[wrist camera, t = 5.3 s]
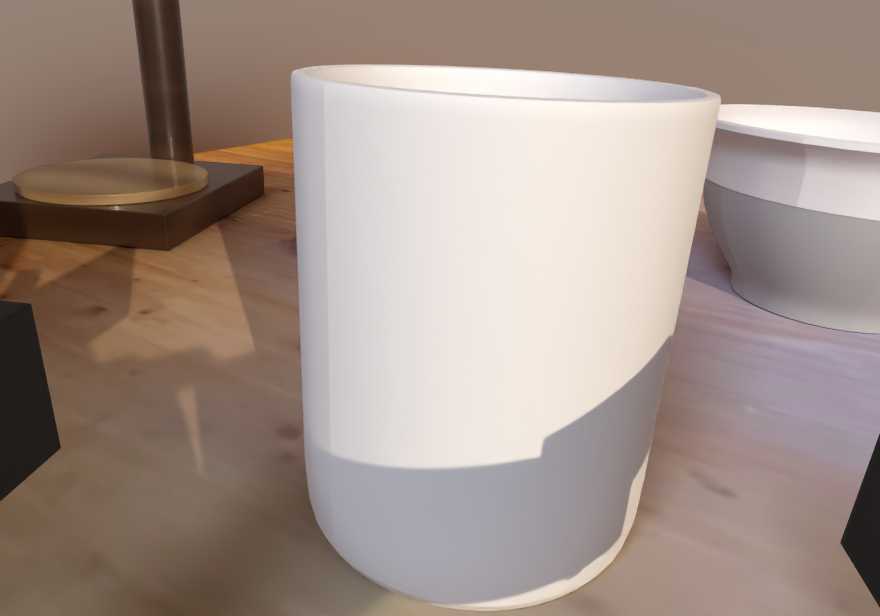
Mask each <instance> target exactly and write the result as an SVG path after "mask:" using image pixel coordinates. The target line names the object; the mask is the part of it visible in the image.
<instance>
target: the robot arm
mask: <svg viewBox="0 0 880 616" xmlns="http://www.w3.org/2000/svg"><path fill="white" fill-rule="evenodd" d="M60 448H61V446H60V442H59V437H58V432H57V427H56V422H55V417H54V413H53V408H52V403H51V398H50V393H49V388H48V384H47V379H46V374H45V369H44V364H43V359H42V355H41V350H40V345H39V340H38V335H37V330H36V326H35V321H34V316H33V311H32V306H31V304H27V303H17V302H7V301H0V501H1V500H2V499H3V498H4V497H6V496H7V495H8V494H9V493H10V492H11V491H12V490H13V489H15V488H16V487H17V486H18V485H19V484H20V483H21V482H23V481H24V480H25V479H26V478H27V477H28V476H29V475H31V474H32V473H33V472H34V471H35V470H36V469H37V468H38V467H40V466H41V465H42V464H43V463H44V462H45V461H46V460H48V459H49V458H50V457H51V456H52V455H53V454H54V453H56V452H57V451H58V450H59V449H60ZM841 544H842V546H843V548H844V549H845V551H846V553H847V554H848V556H849V558H850V559H851V561H852V563H853V564H854V566H855V568H856V569H857V571H858V572H859V574H860V576H861V577H862V579H863V581H864V582H865V584H866V586H867V587H868V589H869V591H870V592H871V594H872V595H873V597H874V599H875V600H876V602H877V604H878V605H879V607H880V434H879V437H878V440H877V443H876V446H875V448H874V451H873V454H872V457H871V459H870V462H869V465H868V468H867V470H866V473H865V476H864V479H863V482H862V484H861V487H860V490H859V493H858V495H857V498H856V501H855V504H854V507H853V509H852V512H851V515H850V518H849V520H848V523H847V526H846V529H845V531H844V534H843V537H842V540H841Z"/></svg>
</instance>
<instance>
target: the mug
mask: <svg viewBox="0 0 880 616" xmlns="http://www.w3.org/2000/svg"><path fill="white" fill-rule="evenodd" d="M291 100H292V126H293V154H294V181H295V208H296V235H297V262H298V289H299V316H300V343H301V370H302V397H303V424H304V451H305V467H306V476H307V485H308V493H309V498H310V502H311V505H312V509H313V512H314V515H315V518H316V521H317V523H318V525H319V527H320V528H321V530H322V532H323V534H324V536H325V537H326V538H327V540H328V541H329V542H330V543H331V545H332V546H333V547H334V548H335V550H336V551H337V552H338V553H339V555H340V556H341V557H342V558H343V559H344V560H345V561H346V562H347V563H349V564H350V565H351V566H352V567H353V568H354V569H355V570H356V571H358V572H359V573H361V574H362V575H364V576H365V577H367V578H368V579H370V580H371V581H373V582H374V583H376V584H378V585H380V586H382V587H384V588H386V589H388V590H390V591H392V592H394V593H397V594H399V595H402V596H405V597H407V598H410V599H413V600H415V601H419V602H423V603H427V604H431V605H435V606H439V607H446V608H453V609H460V610H475V611H496V610H512V609H518V608H523V607H529V606H534V605H538V604H541V603H544V602H548V601H551V600H554V599H557V598H559V597H561V596H564V595H566V594H568V593H570V592H572V591H575V590H576V589H578V588H579V587H581V586H583V585H584V584H586V583H587V582H589V581H590V580H592V579H593V578H594V577H595V576H597V575H598V574H599V573H600V572H601V571H602V570H603V569H604V568H605V567H607V566H608V565H609V564H610V563H611V562H612V560H613V559H614V558H615V556H616V555H617V554H618V552H619V551H620V550H621V548H622V546H623V544H624V542H625V540H626V538H627V535H628V533H629V531H630V529H631V527H632V525H633V522H634V519H635V515H636V512H637V508H638V504H639V499H640V495H641V491H642V486H643V482H644V477H645V472H646V467H647V462H648V457H649V453H650V448H651V443H652V438H653V433H654V428H655V423H656V418H657V413H658V408H659V403H660V398H661V394H662V389H663V384H664V379H665V374H666V369H667V364H668V359H669V354H670V349H671V344H672V340H673V335H674V330H675V325H676V320H677V315H678V310H679V305H680V300H681V295H682V290H683V285H684V281H685V276H686V271H687V266H688V261H689V256H690V251H691V246H692V241H693V236H694V231H695V227H696V222H697V217H698V212H699V207H700V202H701V197H702V192H703V187H704V182H705V177H706V173H707V168H708V163H709V158H710V153H711V148H712V143H713V138H714V133H715V128H716V123H717V118H718V114H719V109H720V103H721V99H720V96H719V95H718V94H716V93H713V92H710V91H707V90H703V89H699V88H695V87H689V86H684V85H677V84H670V83H663V82H655V81H647V80H638V79H629V78H619V77H609V76H598V75H586V74H574V73H561V72H547V71H533V70H532V71H531V70H517V69H516V70H515V69H499V68H480V67H479V68H478V67H458V66H429V65H372V64H371V65H370V64H369V65H368V64H365V65H326V66H314V67H306V68H302V69H298V70H295V71H293V73H292V75H291Z"/></svg>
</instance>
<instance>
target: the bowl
mask: <svg viewBox="0 0 880 616" xmlns="http://www.w3.org/2000/svg"><path fill="white" fill-rule="evenodd" d="M703 191H704V205H705V208H706V211H707V215H708V218H709V221H710V225H711V228H712V231H713V234H714V236H715V238H716V240H717V242H718V244H719V246H720V248H721V250H722V252H723V254H724V256H725V258H726V260H727V262H728V264H729V266H730V268H731V272H732V275H731V280H730V282H731V287H732V288H733V289H734V291H735V292H736V293H737V294H739V295H740V296H741V297H742V298H744V299H746V300H747V301H749V302H751V303H753V304H754V305H756V306H759V307H761V308H763V309H765V310H768V311H770V312H773V313H776V314H778V315H781V316H784V317H787V318H790V319H794V320H797V321H801V322H804V323H808V324H813V325H817V326H821V327H826V328H832V329H838V330H844V331H851V332H861V333H879V334H880V113H877V112H866V111H856V110H842V109H829V108H815V107H814V108H813V107H799V106H778V105H776V106H775V105H746V104H744V105H743V104H740V105H738V104H737V105H733V104H729V105H720V109H719V114H718V118H717V123H716V128H715V133H714V138H713V143H712V148H711V153H710V158H709V163H708V168H707V173H706V177H705V182H704V187H703Z"/></svg>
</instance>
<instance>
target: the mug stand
mask: <svg viewBox="0 0 880 616" xmlns="http://www.w3.org/2000/svg"><path fill="white" fill-rule="evenodd" d="M132 3H133V11H134V20H135V28H136V37H137V45H138V54H139V62H140V69H141V78H142V86H143V94H144V104H145V112H146V120H147V129H148V136H149V145H150V154H151V157H138V156H124V155H111V154H104V155H101V156H97V157H94V158H90V159H87V160H79V161H70V162H63V163H56V164H50V165H45V166H40V167H36V168H33V169H29V170H26V171H24V172H21V173H19V174H18V175H16V176H15V177H14V178H13V181H10V182H6V183H3V184H0V236H11V237H22V238H33V239H45V240H56V241H67V242H79V243H90V244H101V245H113V246H124V247H135V248H147V249H158V250H170V249H172V248H174V247H175V246H177V245H179V244H180V243H182V242H184V241H185V240H187V239H189V238H190V237H192V236H194V235H195V234H197V233H199V232H200V231H202V230H204V229H205V228H207V227H209V226H210V225H212V224H214V223H215V222H217V221H219V220H220V219H222V218H224V217H225V216H227V215H229V214H230V213H232V212H234V211H235V210H237V209H238V208H240V207H242V206H243V205H245V204H247V203H248V202H250V201H252V200H253V199H255V198H257V197H258V196H260V195H262V194H263V193H264V176H263V166H259V165H245V164H232V163H218V162H205V161H194V154H193V144H192V133H191V123H190V112H189V101H188V92H187V81H186V70H185V60H184V49H183V38H182V28H181V18H180V7H179V0H132Z"/></svg>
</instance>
